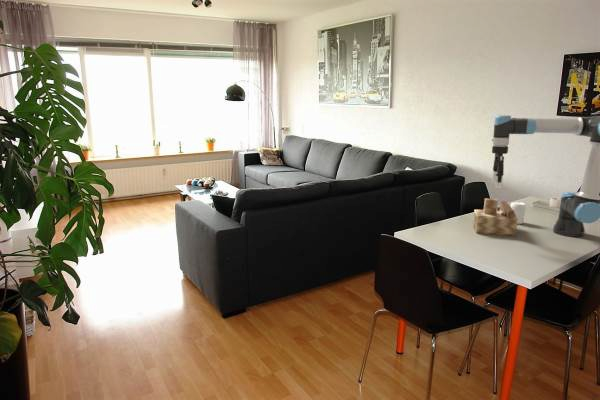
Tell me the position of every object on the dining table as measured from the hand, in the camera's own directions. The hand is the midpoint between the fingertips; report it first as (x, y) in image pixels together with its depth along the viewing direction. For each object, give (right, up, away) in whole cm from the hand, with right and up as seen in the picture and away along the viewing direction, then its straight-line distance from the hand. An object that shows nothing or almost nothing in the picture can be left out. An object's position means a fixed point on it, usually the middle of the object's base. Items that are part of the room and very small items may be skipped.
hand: (496, 185), depth 233 cm
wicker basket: (+6, -24, +18) cm, 31 cm away
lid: (+5, -16, +13) cm, 21 cm away
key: (+11, -15, +13) cm, 23 cm away
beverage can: (+26, -21, +32) cm, 47 cm away
